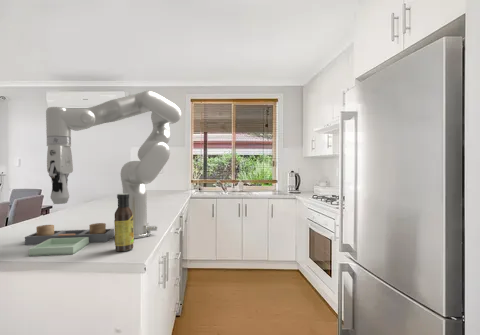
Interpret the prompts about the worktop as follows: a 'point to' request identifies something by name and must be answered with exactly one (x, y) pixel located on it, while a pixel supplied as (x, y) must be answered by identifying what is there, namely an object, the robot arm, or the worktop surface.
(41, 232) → the oak peg
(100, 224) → the oak peg
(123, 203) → the sauce bottle
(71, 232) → the socket holder
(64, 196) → the salt shaker
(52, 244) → the sage tray
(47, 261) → the worktop surface
